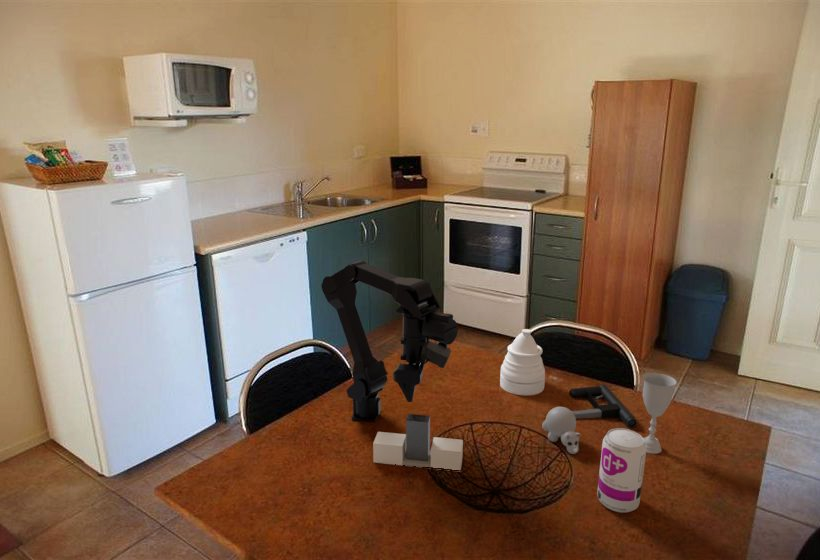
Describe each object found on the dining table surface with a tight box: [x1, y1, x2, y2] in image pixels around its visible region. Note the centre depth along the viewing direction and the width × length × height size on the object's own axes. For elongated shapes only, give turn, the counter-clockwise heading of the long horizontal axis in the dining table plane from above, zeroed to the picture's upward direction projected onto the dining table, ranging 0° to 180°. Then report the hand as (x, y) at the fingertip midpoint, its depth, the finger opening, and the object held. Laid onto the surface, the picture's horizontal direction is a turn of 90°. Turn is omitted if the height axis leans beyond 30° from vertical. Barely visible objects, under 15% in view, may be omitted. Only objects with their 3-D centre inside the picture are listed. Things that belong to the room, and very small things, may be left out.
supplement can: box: [596, 427, 647, 513], centre depth 116 cm, size 8×8×15 cm
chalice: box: [641, 372, 678, 455], centre depth 135 cm, size 7×7×18 cm
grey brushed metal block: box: [405, 413, 431, 462], centre depth 130 cm, size 5×3×10 cm, turn 80°
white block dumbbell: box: [372, 431, 464, 471], centre depth 131 cm, size 20×5×5 cm, turn 80°
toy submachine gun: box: [568, 384, 638, 429], centre depth 154 cm, size 3×20×16 cm
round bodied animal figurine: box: [541, 406, 581, 455], centre depth 137 cm, size 7×12×8 cm, turn 13°
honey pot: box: [499, 328, 546, 396], centre depth 166 cm, size 13×13×18 cm
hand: (413, 392), depth 139 cm, fingers open, 9 cm apart
